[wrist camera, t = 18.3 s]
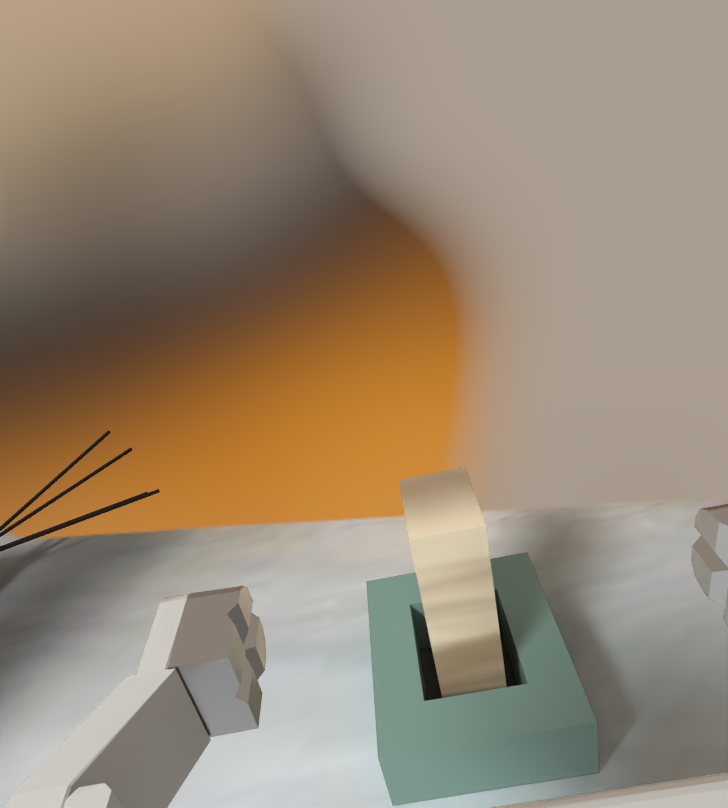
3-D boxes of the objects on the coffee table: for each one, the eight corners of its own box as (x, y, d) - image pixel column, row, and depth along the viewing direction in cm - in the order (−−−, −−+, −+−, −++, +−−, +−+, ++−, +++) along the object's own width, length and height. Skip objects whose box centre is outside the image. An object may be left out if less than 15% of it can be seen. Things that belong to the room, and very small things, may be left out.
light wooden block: (511, 719, 29) (485, 525, 23) (448, 730, 29) (409, 539, 23) (491, 650, 32) (465, 467, 27) (436, 659, 32) (399, 479, 27)
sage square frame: (598, 772, 26) (597, 722, 24) (392, 805, 26) (378, 758, 25) (531, 597, 35) (527, 552, 33) (378, 625, 35) (366, 581, 34)
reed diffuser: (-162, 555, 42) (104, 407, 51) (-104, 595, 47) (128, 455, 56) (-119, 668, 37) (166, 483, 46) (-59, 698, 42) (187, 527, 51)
